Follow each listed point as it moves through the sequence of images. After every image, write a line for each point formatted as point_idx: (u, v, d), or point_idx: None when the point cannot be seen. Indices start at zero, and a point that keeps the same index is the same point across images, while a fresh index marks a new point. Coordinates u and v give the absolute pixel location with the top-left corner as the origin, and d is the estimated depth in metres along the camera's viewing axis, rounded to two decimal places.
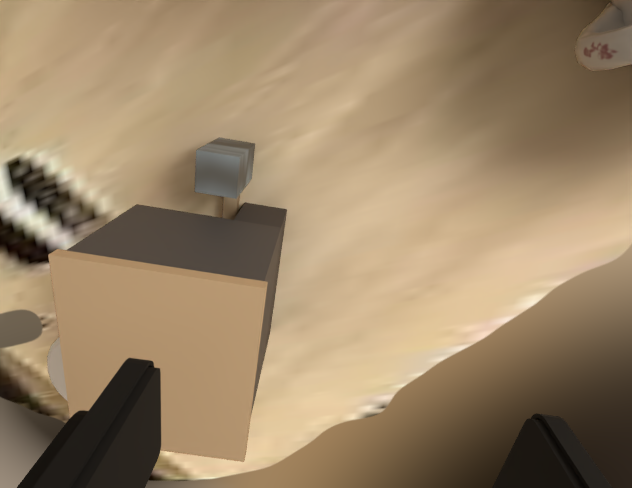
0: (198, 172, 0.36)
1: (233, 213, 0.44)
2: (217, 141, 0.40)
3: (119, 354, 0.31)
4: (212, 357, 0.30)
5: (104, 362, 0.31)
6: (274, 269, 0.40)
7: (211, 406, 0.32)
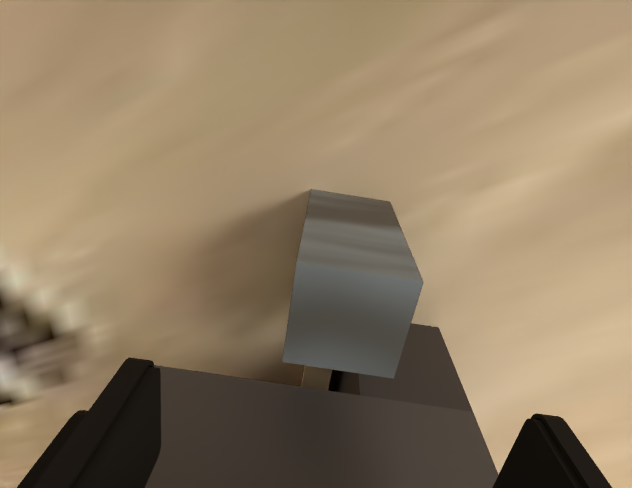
0: (297, 317, 0.13)
1: None
2: (318, 205, 0.17)
3: None
4: None
5: None
6: None
7: None
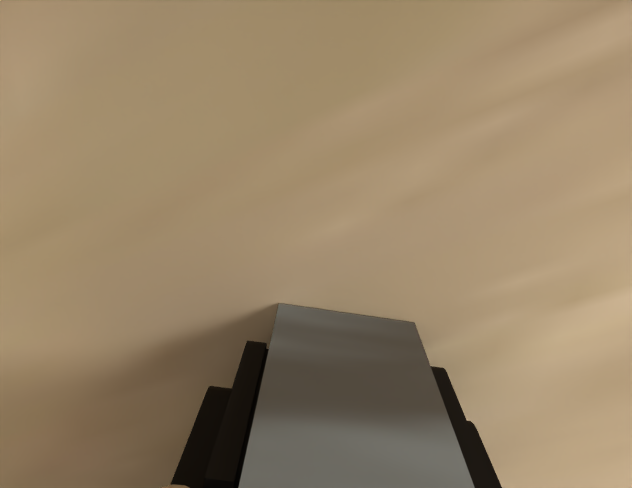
0: None
1: None
2: (286, 360, 0.09)
3: None
4: None
5: None
6: None
7: None
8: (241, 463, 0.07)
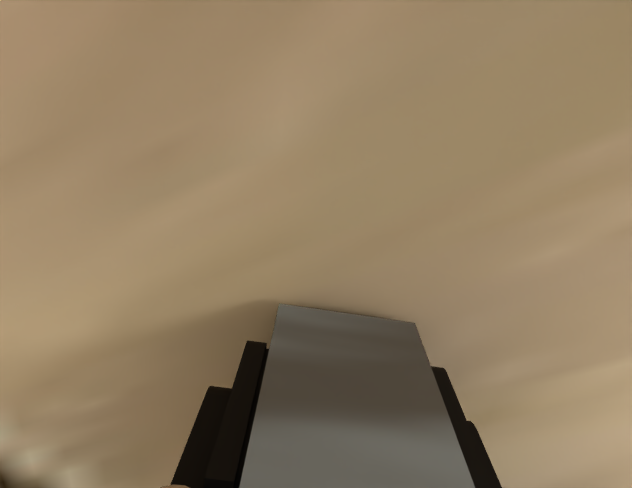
0: None
1: None
2: (286, 360, 0.09)
3: None
4: None
5: None
6: None
7: None
8: (241, 463, 0.07)
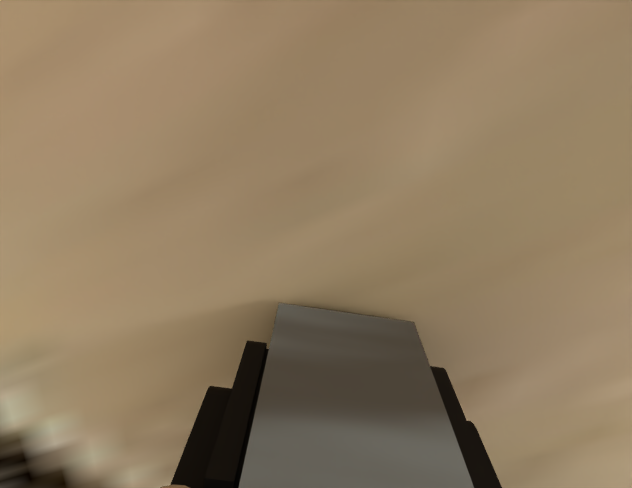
0: None
1: None
2: (286, 359, 0.09)
3: None
4: None
5: None
6: None
7: None
8: (241, 463, 0.07)
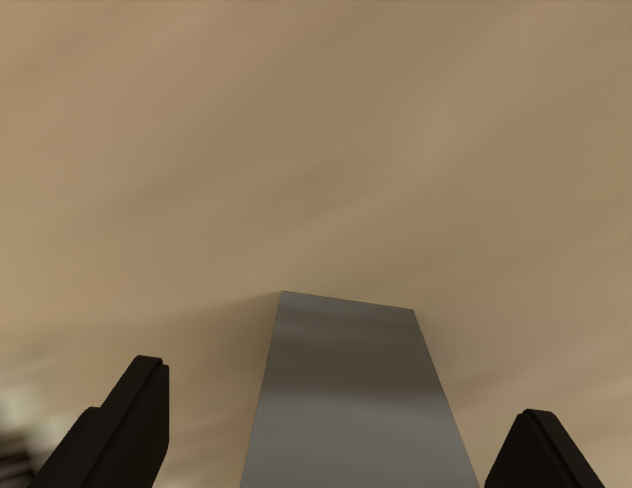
0: None
1: None
2: (290, 342, 0.09)
3: None
4: None
5: None
6: None
7: None
8: None
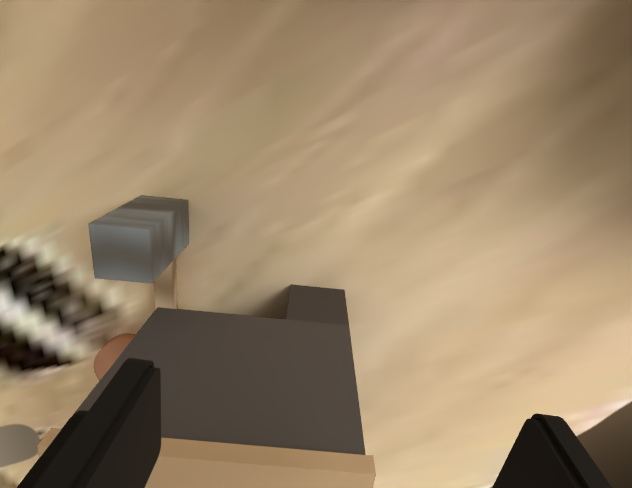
0: (96, 252, 0.26)
1: (168, 289, 0.35)
2: (134, 202, 0.30)
3: None
4: None
5: None
6: None
7: None
8: None
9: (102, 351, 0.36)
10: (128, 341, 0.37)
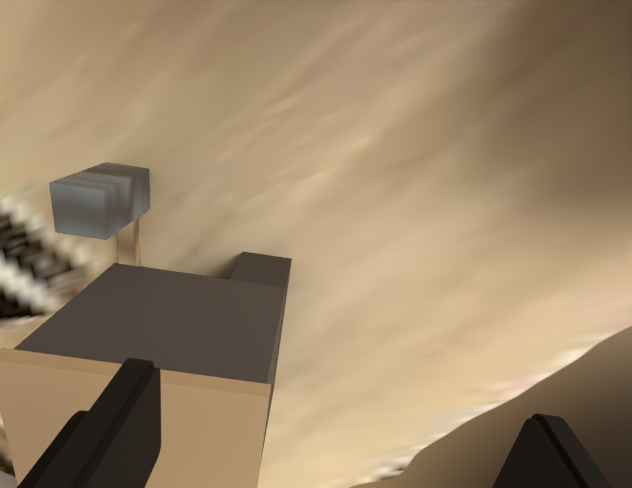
0: (56, 209, 0.29)
1: (130, 249, 0.38)
2: (97, 168, 0.34)
3: None
4: (202, 473, 0.24)
5: None
6: (278, 337, 0.34)
7: None
8: None
9: None
10: None
